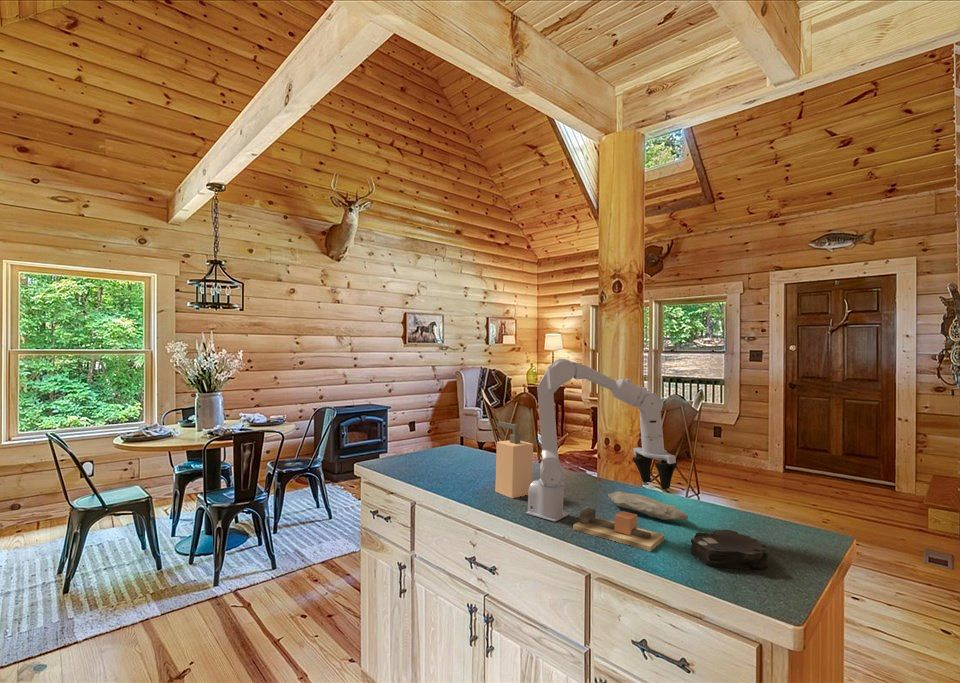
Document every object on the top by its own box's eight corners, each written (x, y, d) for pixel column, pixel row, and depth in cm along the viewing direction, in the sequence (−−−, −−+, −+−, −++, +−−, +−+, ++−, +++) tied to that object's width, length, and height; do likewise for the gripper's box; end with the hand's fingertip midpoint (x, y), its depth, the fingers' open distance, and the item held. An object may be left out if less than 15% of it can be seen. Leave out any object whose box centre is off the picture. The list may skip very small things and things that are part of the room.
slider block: (614, 530, 120) (614, 515, 120) (621, 526, 123) (622, 510, 123) (629, 535, 117) (630, 519, 117) (636, 530, 121) (637, 514, 121)
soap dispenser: (532, 494, 154) (534, 425, 154) (512, 498, 149) (514, 427, 149) (506, 484, 164) (508, 420, 165) (487, 488, 159) (489, 422, 160)
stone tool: (621, 484, 152) (697, 504, 133) (621, 500, 152) (697, 523, 132) (598, 489, 145) (675, 511, 126) (598, 506, 145) (675, 531, 125)
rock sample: (707, 540, 120) (707, 520, 120) (779, 560, 109) (779, 538, 110) (680, 560, 108) (680, 538, 108) (758, 585, 97) (758, 560, 97)
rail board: (573, 529, 124) (573, 513, 124) (590, 519, 132) (591, 505, 132) (650, 551, 111) (650, 534, 111) (664, 539, 119) (664, 523, 119)
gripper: (683, 437, 126) (687, 489, 126) (646, 430, 140) (649, 477, 139) (661, 440, 124) (665, 493, 123) (626, 433, 137) (629, 481, 137)
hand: (655, 485), depth 131 cm, fingers open, 7 cm apart
